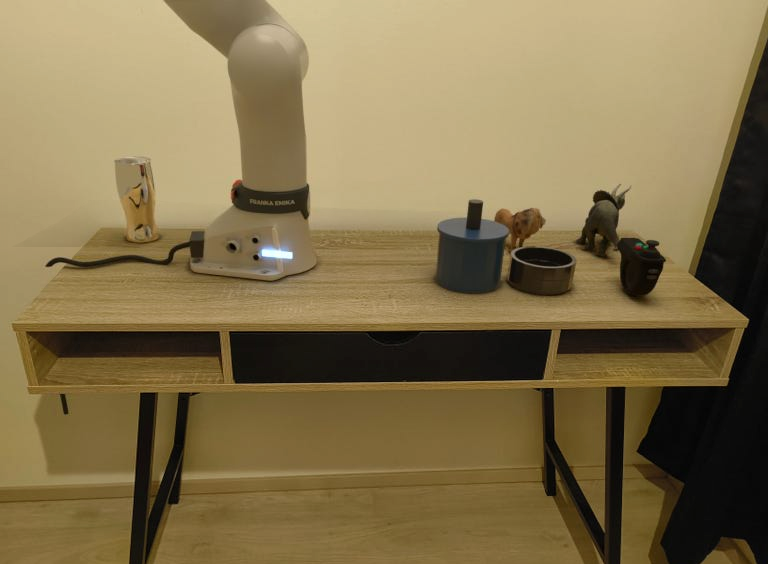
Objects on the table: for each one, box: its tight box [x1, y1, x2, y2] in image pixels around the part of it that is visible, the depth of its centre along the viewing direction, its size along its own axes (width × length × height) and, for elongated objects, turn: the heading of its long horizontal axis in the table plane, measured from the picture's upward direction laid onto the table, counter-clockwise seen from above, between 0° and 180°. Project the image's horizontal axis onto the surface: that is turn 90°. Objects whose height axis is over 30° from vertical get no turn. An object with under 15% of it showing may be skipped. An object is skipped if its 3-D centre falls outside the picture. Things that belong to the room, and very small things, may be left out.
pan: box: [506, 245, 578, 296], centre depth 117 cm, size 11×11×5 cm
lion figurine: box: [493, 207, 547, 253], centre depth 134 cm, size 15×5×9 cm, turn 34°
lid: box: [436, 198, 510, 243], centre depth 113 cm, size 12×12×6 cm
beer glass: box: [113, 156, 160, 244], centre depth 130 cm, size 7×7×15 cm
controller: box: [617, 237, 667, 296], centre depth 114 cm, size 4×12×10 cm, turn 2°
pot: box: [435, 232, 507, 294], centre depth 116 cm, size 11×11×9 cm
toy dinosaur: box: [575, 183, 632, 259], centre depth 133 cm, size 22×8×11 cm, turn 160°
